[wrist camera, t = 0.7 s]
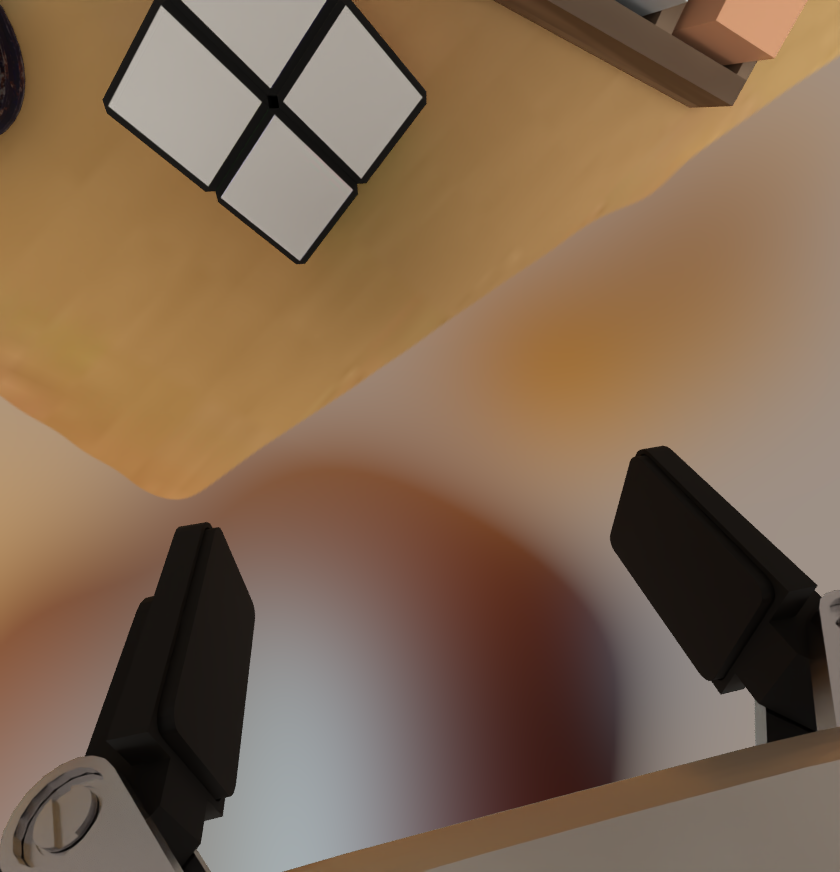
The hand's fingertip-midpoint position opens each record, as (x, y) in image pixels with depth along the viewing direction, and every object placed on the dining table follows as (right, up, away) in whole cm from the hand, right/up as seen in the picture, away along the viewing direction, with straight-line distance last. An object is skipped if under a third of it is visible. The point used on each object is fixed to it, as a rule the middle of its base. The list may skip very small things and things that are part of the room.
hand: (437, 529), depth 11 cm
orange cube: (+17, +27, +16) cm, 36 cm away
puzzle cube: (-9, +22, +18) cm, 30 cm away
